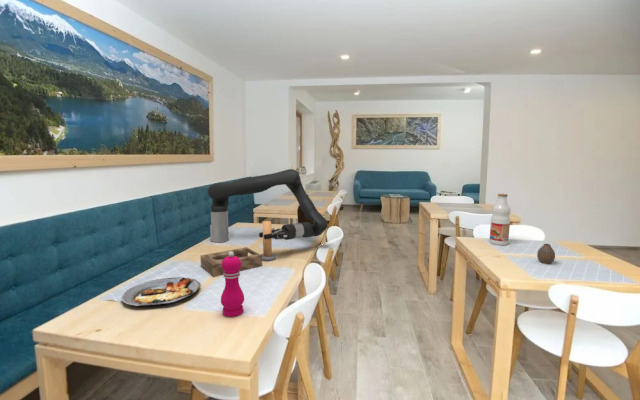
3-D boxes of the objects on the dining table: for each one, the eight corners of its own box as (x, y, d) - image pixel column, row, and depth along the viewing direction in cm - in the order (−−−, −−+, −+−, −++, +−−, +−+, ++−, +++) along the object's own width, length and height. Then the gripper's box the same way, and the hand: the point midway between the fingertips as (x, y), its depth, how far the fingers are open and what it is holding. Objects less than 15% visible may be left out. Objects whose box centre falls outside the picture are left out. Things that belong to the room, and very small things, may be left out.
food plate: (204, 279, 134) (203, 271, 134) (195, 306, 112) (194, 296, 111) (135, 286, 129) (134, 277, 129) (112, 315, 107) (111, 304, 106)
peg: (257, 261, 157) (256, 223, 155) (261, 256, 165) (260, 220, 163) (274, 261, 157) (273, 223, 154) (277, 256, 165) (276, 220, 162)
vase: (552, 261, 159) (554, 243, 157) (555, 265, 152) (557, 247, 151) (535, 259, 162) (537, 241, 160) (537, 263, 155) (539, 245, 154)
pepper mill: (223, 307, 110) (221, 248, 108) (246, 306, 111) (244, 248, 108) (219, 318, 103) (216, 255, 100) (243, 317, 104) (241, 254, 101)
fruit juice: (510, 246, 184) (514, 195, 180) (491, 245, 187) (495, 194, 183) (505, 241, 193) (509, 193, 189) (487, 240, 196) (491, 192, 192)
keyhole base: (246, 257, 163) (246, 247, 162) (262, 266, 151) (261, 255, 150) (200, 266, 150) (200, 255, 149) (213, 276, 137) (213, 265, 137)
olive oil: (300, 237, 200) (300, 196, 197) (295, 233, 210) (295, 194, 207) (317, 236, 204) (317, 195, 201) (311, 232, 214) (311, 193, 211)
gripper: (285, 221, 173) (254, 225, 163) (300, 226, 162) (269, 231, 152) (285, 235, 174) (255, 240, 164) (300, 241, 163) (269, 247, 153)
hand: (261, 236), depth 158 cm, fingers closed on peg, 4 cm apart
